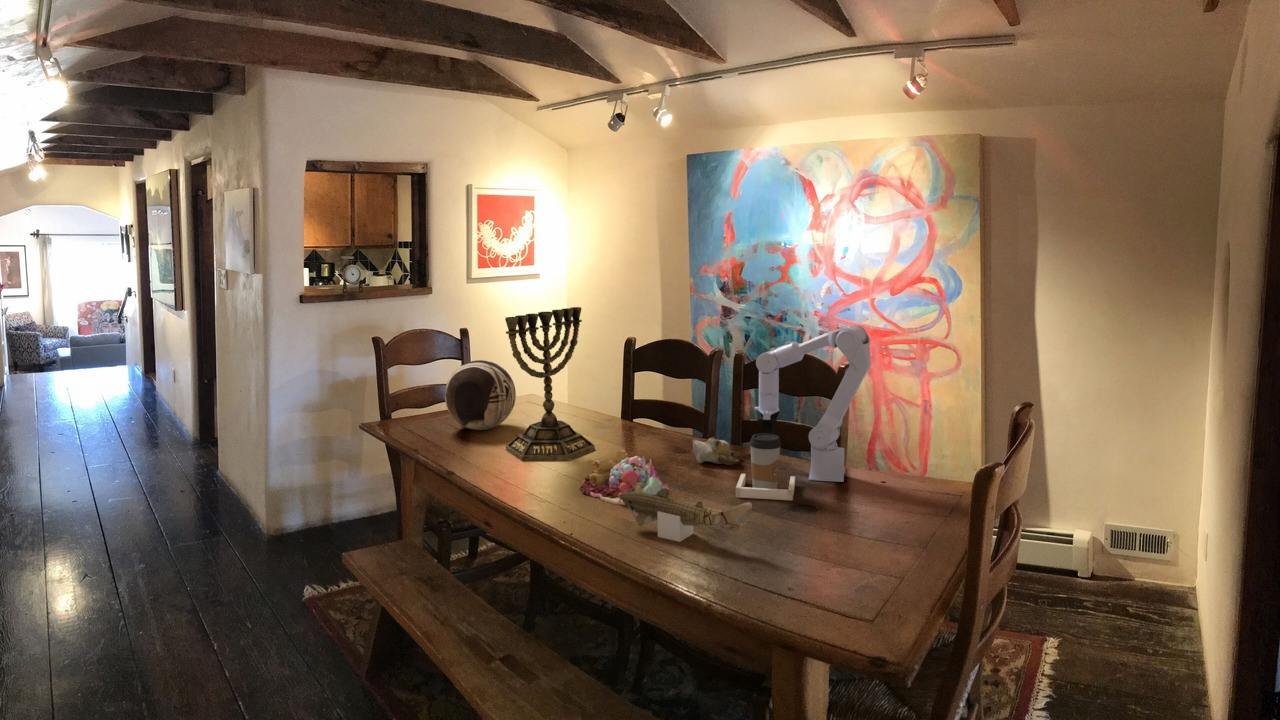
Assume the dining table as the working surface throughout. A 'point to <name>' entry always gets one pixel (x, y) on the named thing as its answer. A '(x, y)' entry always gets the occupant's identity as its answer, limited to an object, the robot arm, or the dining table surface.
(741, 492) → the dock
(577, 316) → the menorah
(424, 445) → the dining table surface
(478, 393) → the sphere
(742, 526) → the wood carving
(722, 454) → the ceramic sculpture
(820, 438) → the robot arm
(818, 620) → the dining table surface
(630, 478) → the candy landscape model
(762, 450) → the coffee cup
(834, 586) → the dining table surface
